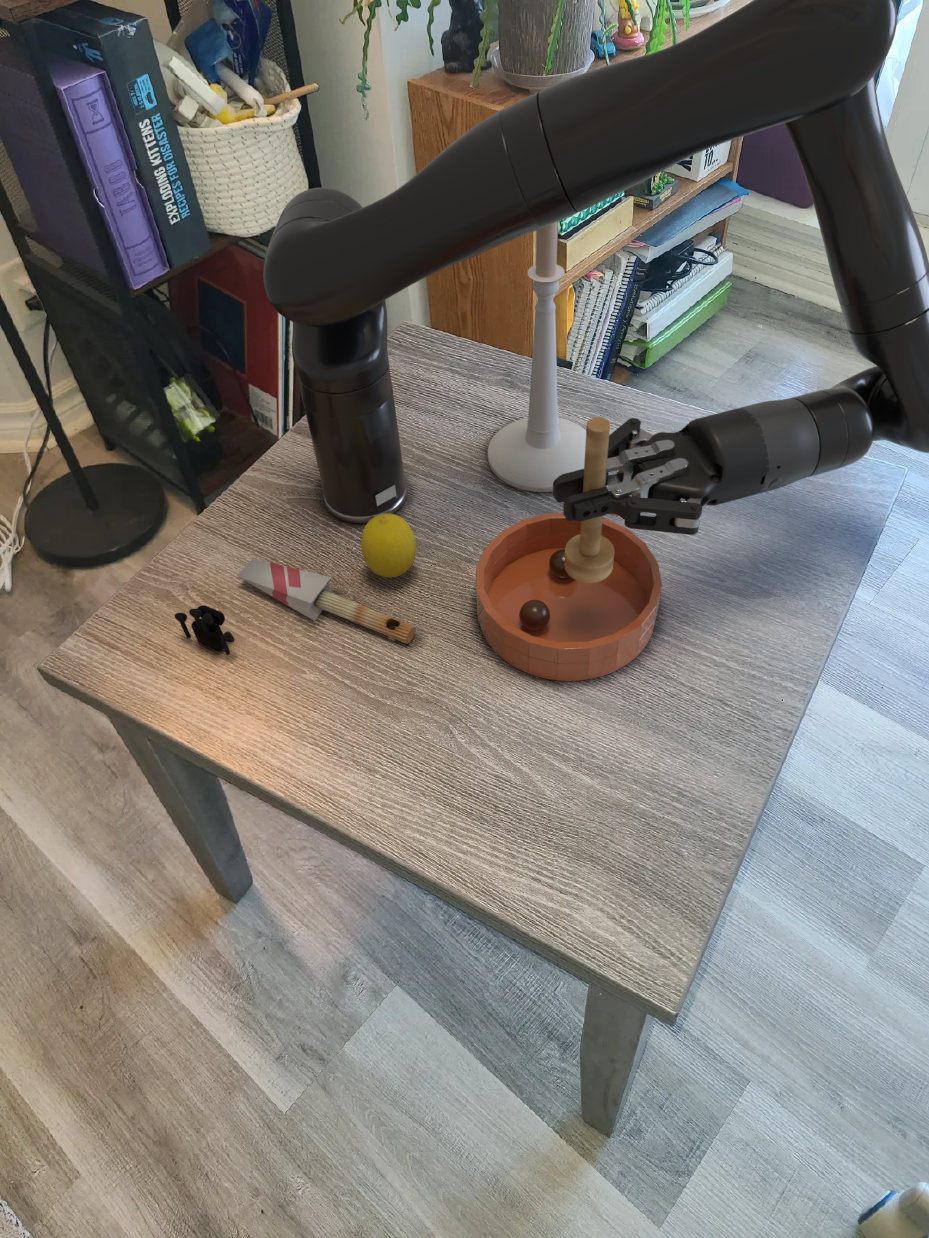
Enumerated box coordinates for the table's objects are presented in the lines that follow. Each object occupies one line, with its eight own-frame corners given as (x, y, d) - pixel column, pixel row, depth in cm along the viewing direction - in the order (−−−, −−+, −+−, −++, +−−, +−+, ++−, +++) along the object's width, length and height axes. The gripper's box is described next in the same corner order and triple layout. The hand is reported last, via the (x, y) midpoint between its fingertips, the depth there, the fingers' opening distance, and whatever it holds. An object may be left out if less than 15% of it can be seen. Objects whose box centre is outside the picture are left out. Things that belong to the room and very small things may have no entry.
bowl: (443, 598, 91) (440, 564, 88) (576, 523, 97) (578, 488, 94) (553, 712, 82) (554, 680, 78) (692, 621, 88) (700, 587, 84)
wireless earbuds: (181, 639, 90) (165, 606, 86) (196, 622, 91) (182, 589, 87) (237, 663, 87) (224, 630, 83) (252, 645, 89) (240, 612, 85)
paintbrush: (252, 544, 93) (419, 613, 87) (258, 562, 95) (421, 631, 89) (230, 569, 91) (399, 641, 85) (235, 586, 93) (401, 658, 87)
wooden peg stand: (554, 562, 82) (558, 422, 70) (591, 541, 84) (601, 399, 71) (585, 590, 80) (595, 450, 67) (623, 568, 81) (638, 426, 69)
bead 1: (512, 622, 88) (512, 603, 86) (536, 608, 89) (537, 588, 87) (531, 641, 86) (532, 622, 84) (556, 627, 87) (557, 607, 85)
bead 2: (542, 572, 92) (542, 552, 90) (565, 559, 93) (566, 538, 91) (561, 589, 91) (562, 569, 88) (583, 576, 92) (585, 555, 89)
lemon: (426, 560, 95) (420, 504, 89) (407, 597, 92) (399, 542, 86) (378, 549, 96) (369, 494, 90) (358, 586, 93) (347, 531, 87)
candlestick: (619, 448, 105) (645, 190, 82) (553, 507, 99) (562, 248, 76) (532, 407, 111) (535, 156, 88) (465, 462, 105) (448, 207, 82)
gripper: (717, 369, 78) (530, 416, 76) (801, 466, 70) (594, 522, 67) (704, 437, 84) (531, 483, 81) (781, 535, 75) (589, 589, 73)
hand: (560, 500), depth 74 cm, fingers closed on wooden peg stand, 2 cm apart
